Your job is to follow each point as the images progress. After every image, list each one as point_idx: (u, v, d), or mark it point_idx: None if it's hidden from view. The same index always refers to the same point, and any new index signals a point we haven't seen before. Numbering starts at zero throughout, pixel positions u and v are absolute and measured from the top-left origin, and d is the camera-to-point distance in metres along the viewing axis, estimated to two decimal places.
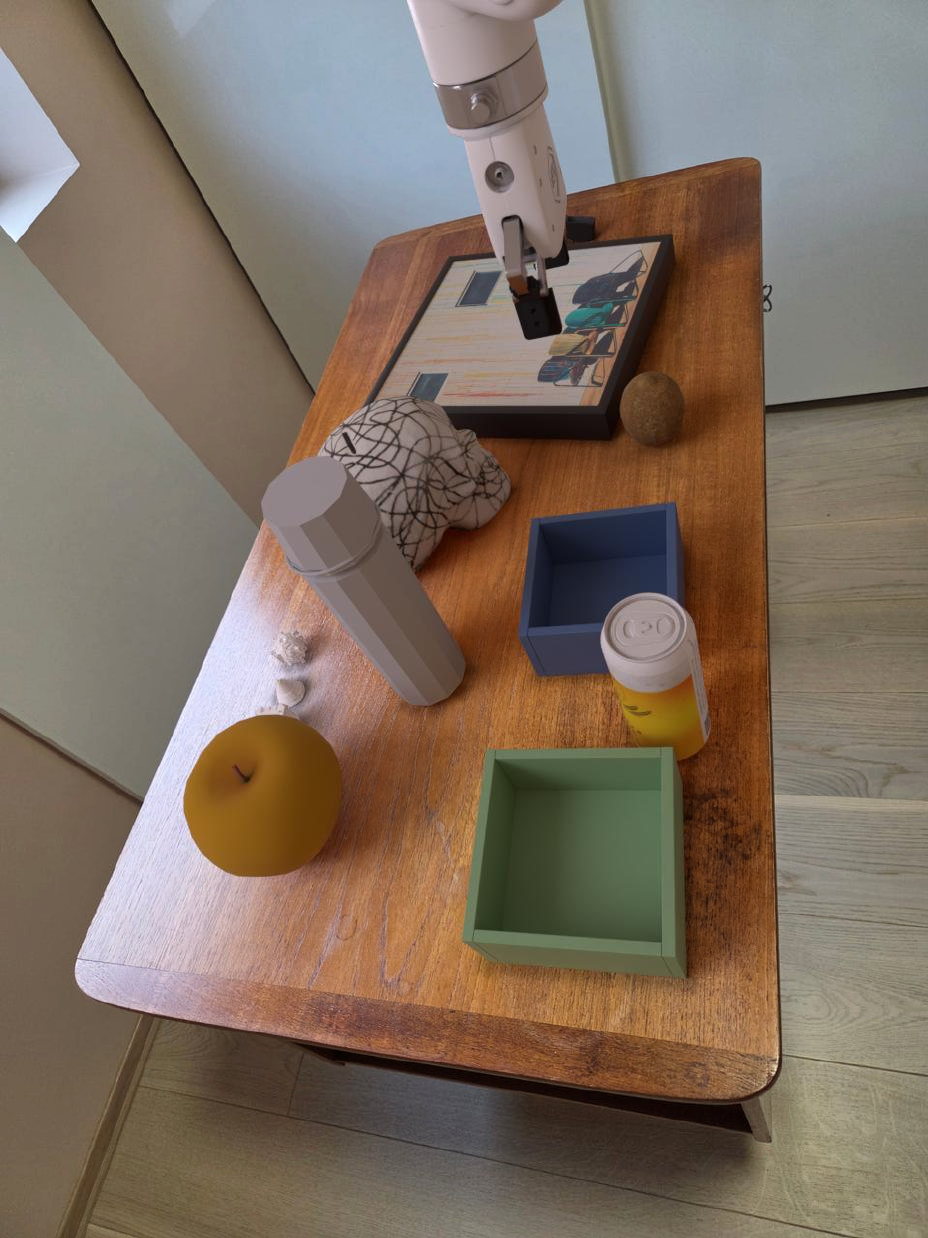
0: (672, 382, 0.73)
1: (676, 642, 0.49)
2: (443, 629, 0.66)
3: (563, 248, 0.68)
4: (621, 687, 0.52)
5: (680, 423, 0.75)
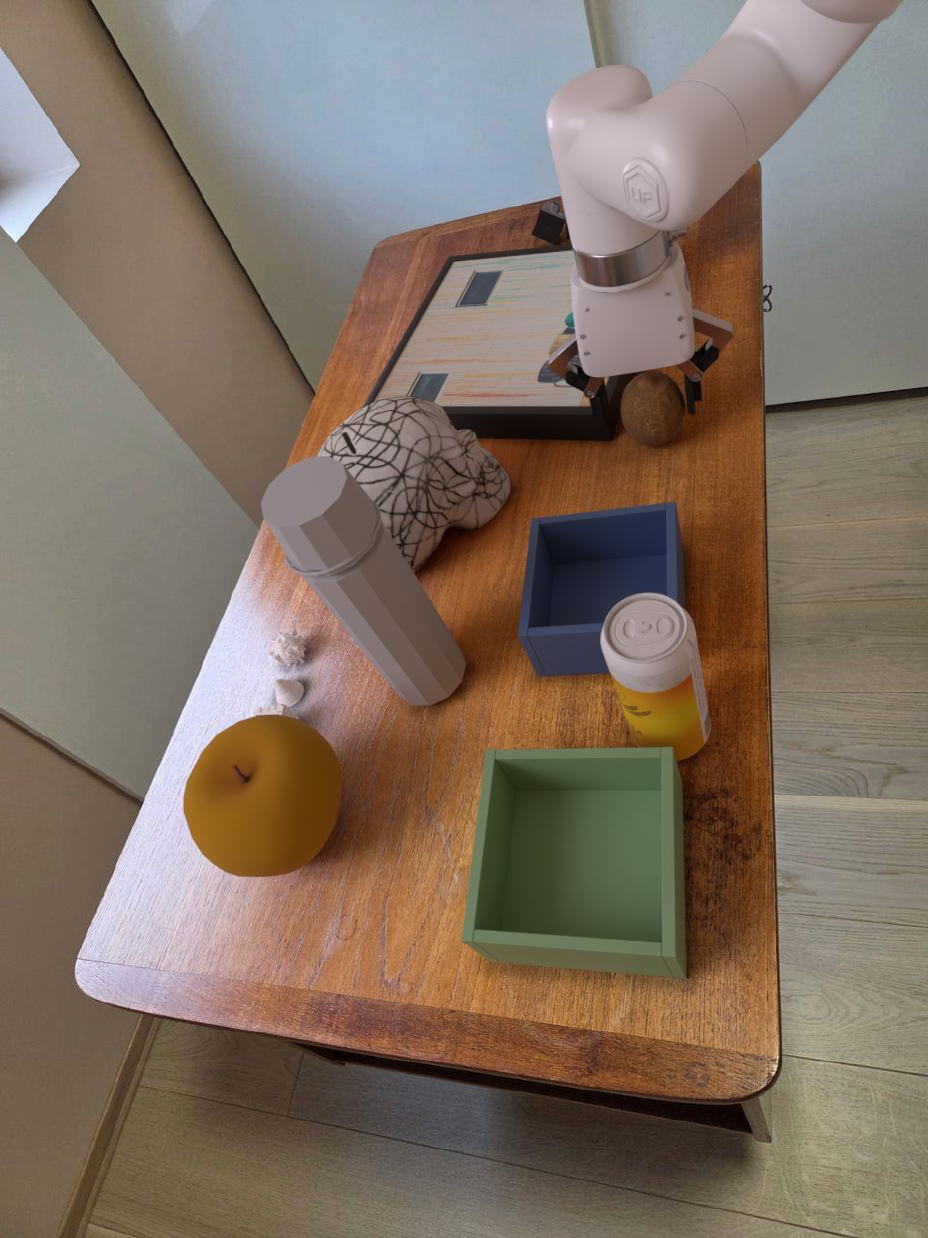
0: (672, 382, 0.73)
1: (676, 642, 0.49)
2: (443, 629, 0.66)
3: (607, 395, 0.77)
4: (621, 687, 0.52)
5: (680, 423, 0.75)
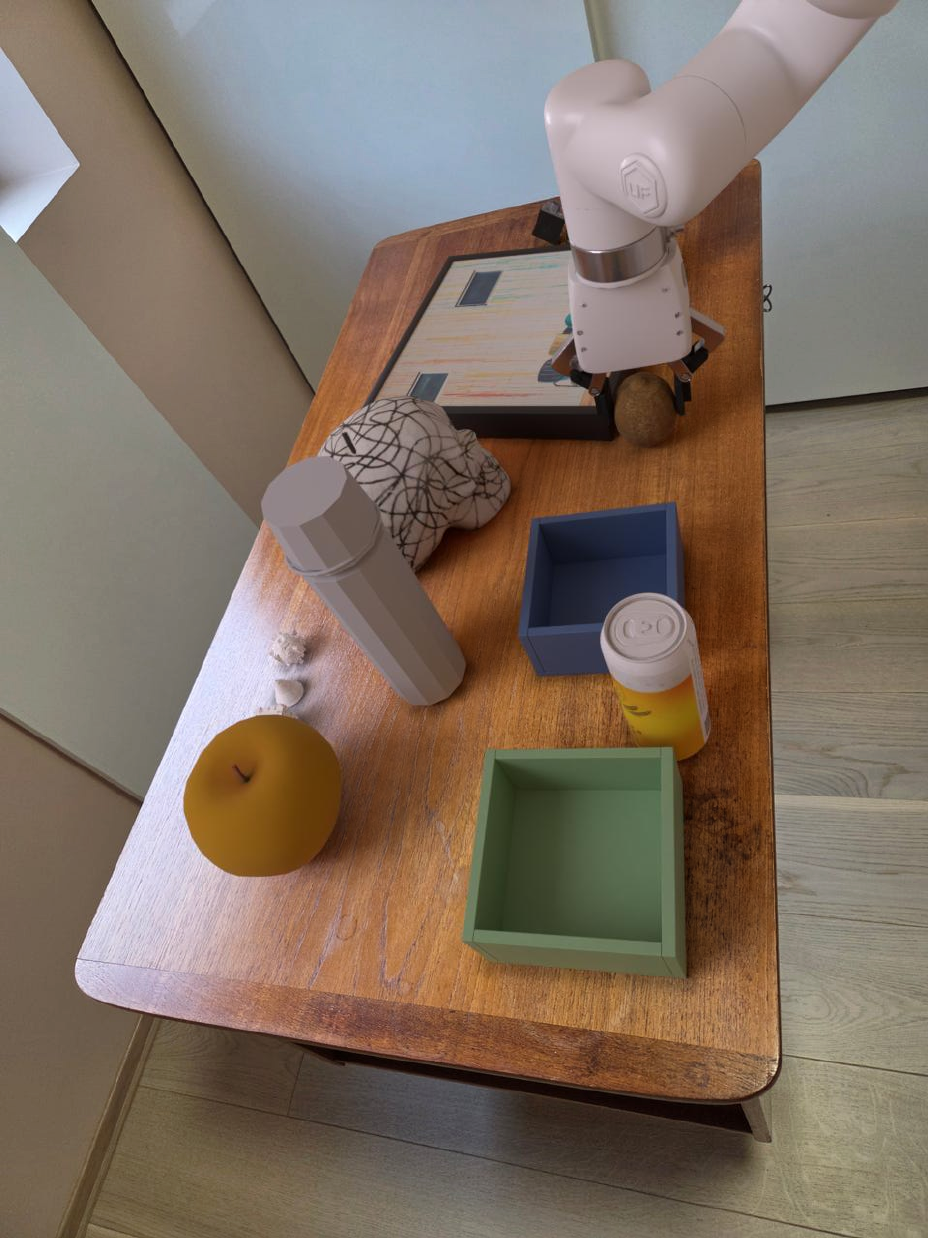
0: (664, 382, 0.74)
1: (676, 642, 0.49)
2: (443, 629, 0.66)
3: (611, 393, 0.77)
4: (621, 687, 0.52)
5: (673, 423, 0.75)
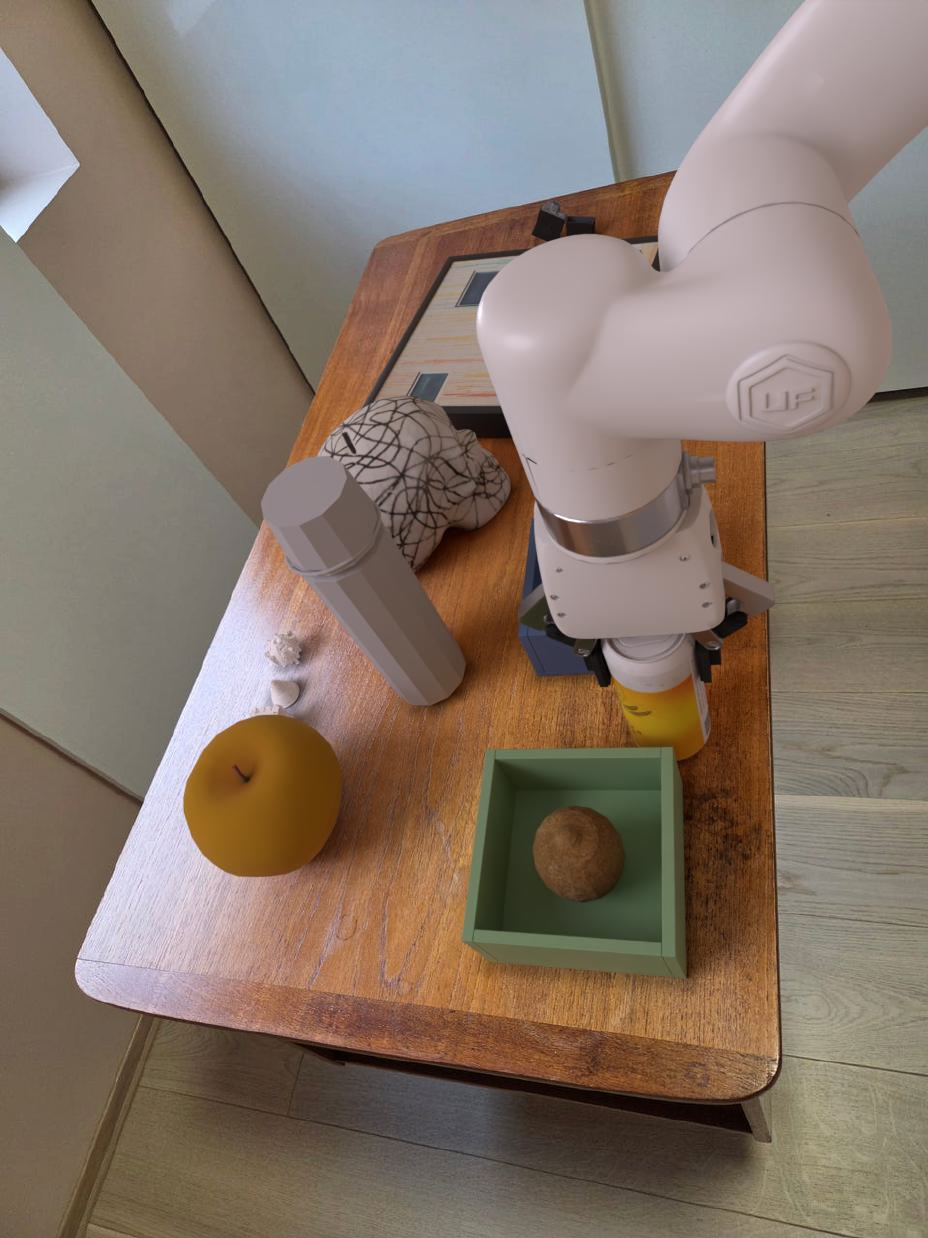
0: (604, 837, 0.51)
1: (676, 642, 0.49)
2: (443, 629, 0.66)
3: None
4: (621, 687, 0.52)
5: (618, 880, 0.52)
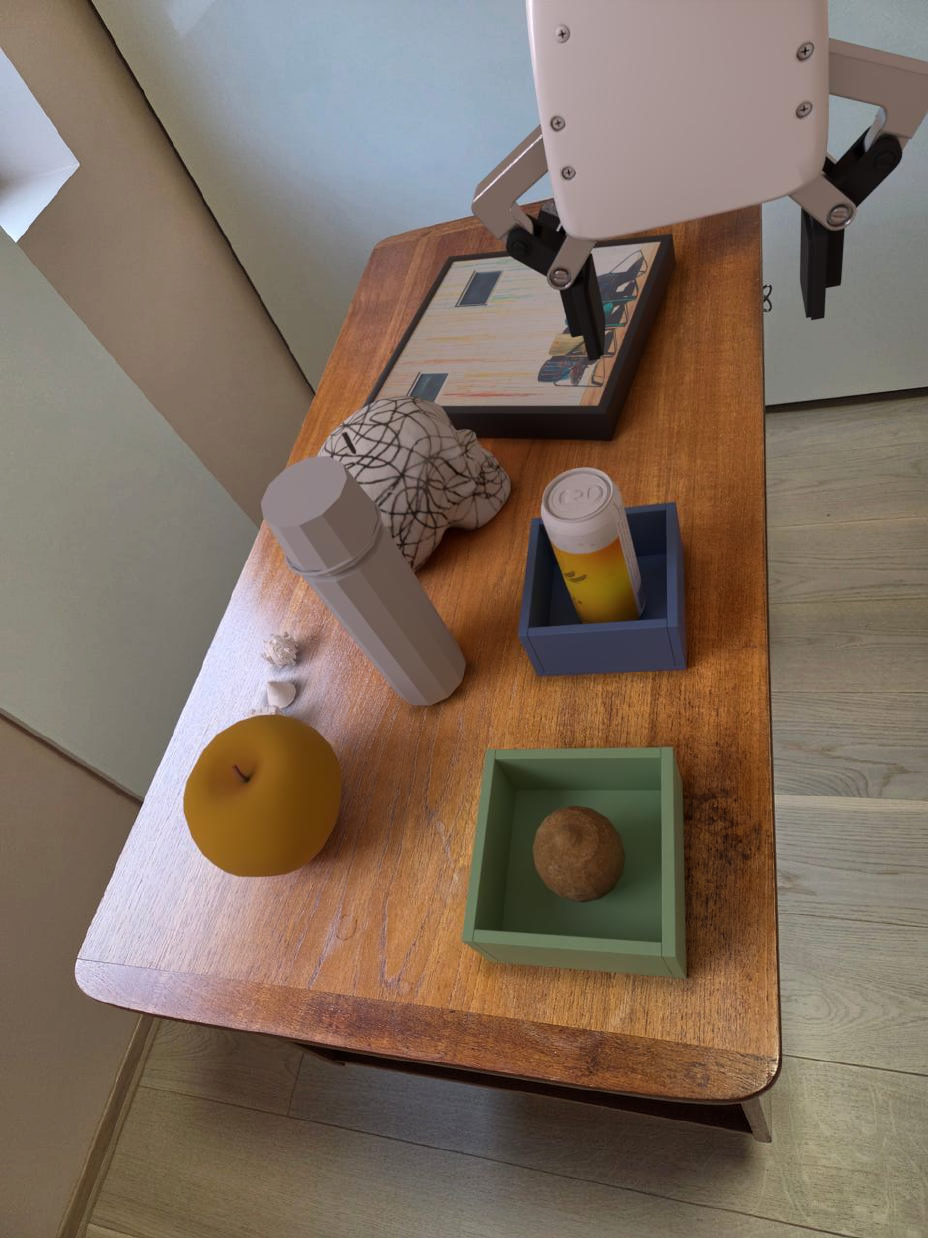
0: (604, 837, 0.51)
1: (603, 505, 0.56)
2: (443, 629, 0.66)
3: None
4: (559, 552, 0.60)
5: (618, 880, 0.52)
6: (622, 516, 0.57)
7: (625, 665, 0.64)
